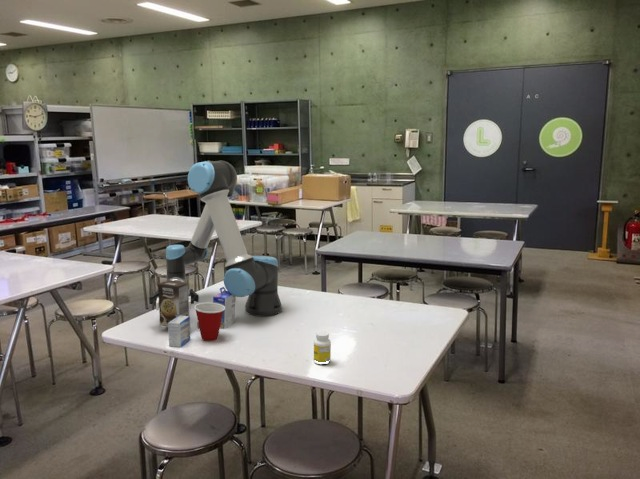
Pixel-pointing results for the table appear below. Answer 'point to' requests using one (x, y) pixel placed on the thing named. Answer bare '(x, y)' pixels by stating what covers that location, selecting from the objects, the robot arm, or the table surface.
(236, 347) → the table surface
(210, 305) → the plastic cup
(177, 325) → the medicine box
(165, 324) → the coffee box
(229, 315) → the ink cartridge box
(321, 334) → the supplement bottle
